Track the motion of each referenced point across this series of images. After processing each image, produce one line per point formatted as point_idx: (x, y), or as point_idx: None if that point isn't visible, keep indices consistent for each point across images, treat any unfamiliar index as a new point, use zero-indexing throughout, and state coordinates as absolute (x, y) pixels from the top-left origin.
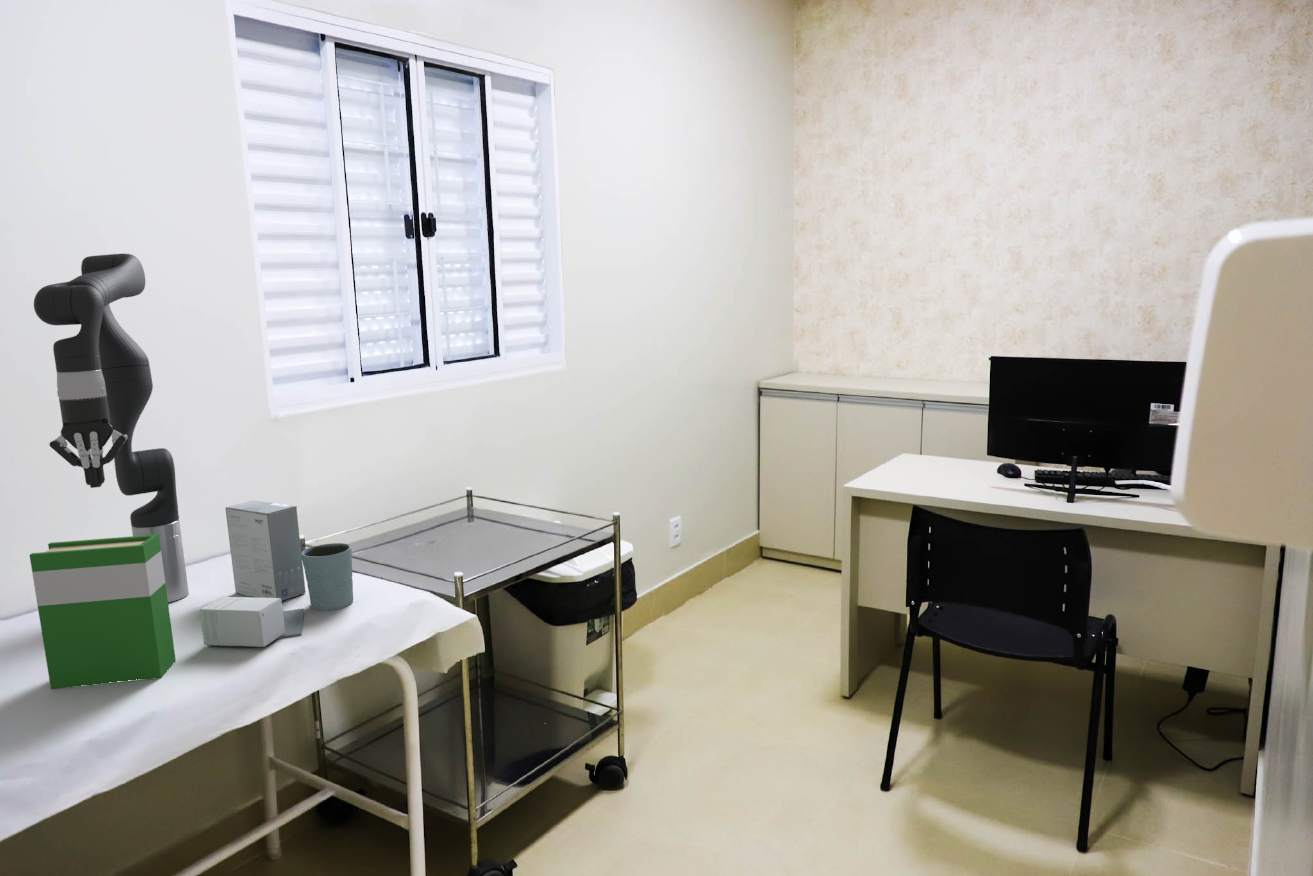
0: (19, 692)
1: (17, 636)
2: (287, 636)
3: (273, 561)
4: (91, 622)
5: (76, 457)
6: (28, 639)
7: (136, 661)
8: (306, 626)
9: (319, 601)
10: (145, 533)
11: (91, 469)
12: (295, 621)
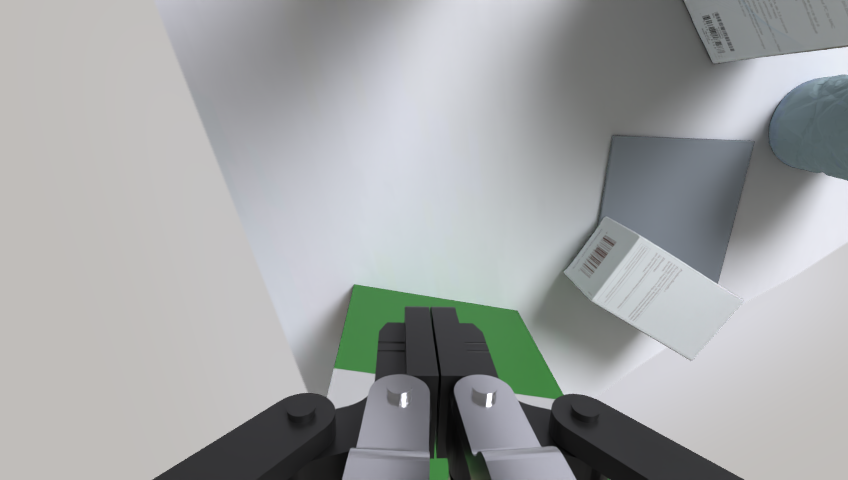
0: (298, 339)
1: (171, 13)
2: None
3: (802, 51)
4: None
5: (291, 468)
6: (207, 51)
7: None
8: (733, 239)
9: (795, 162)
10: None
11: (430, 453)
12: (722, 215)
